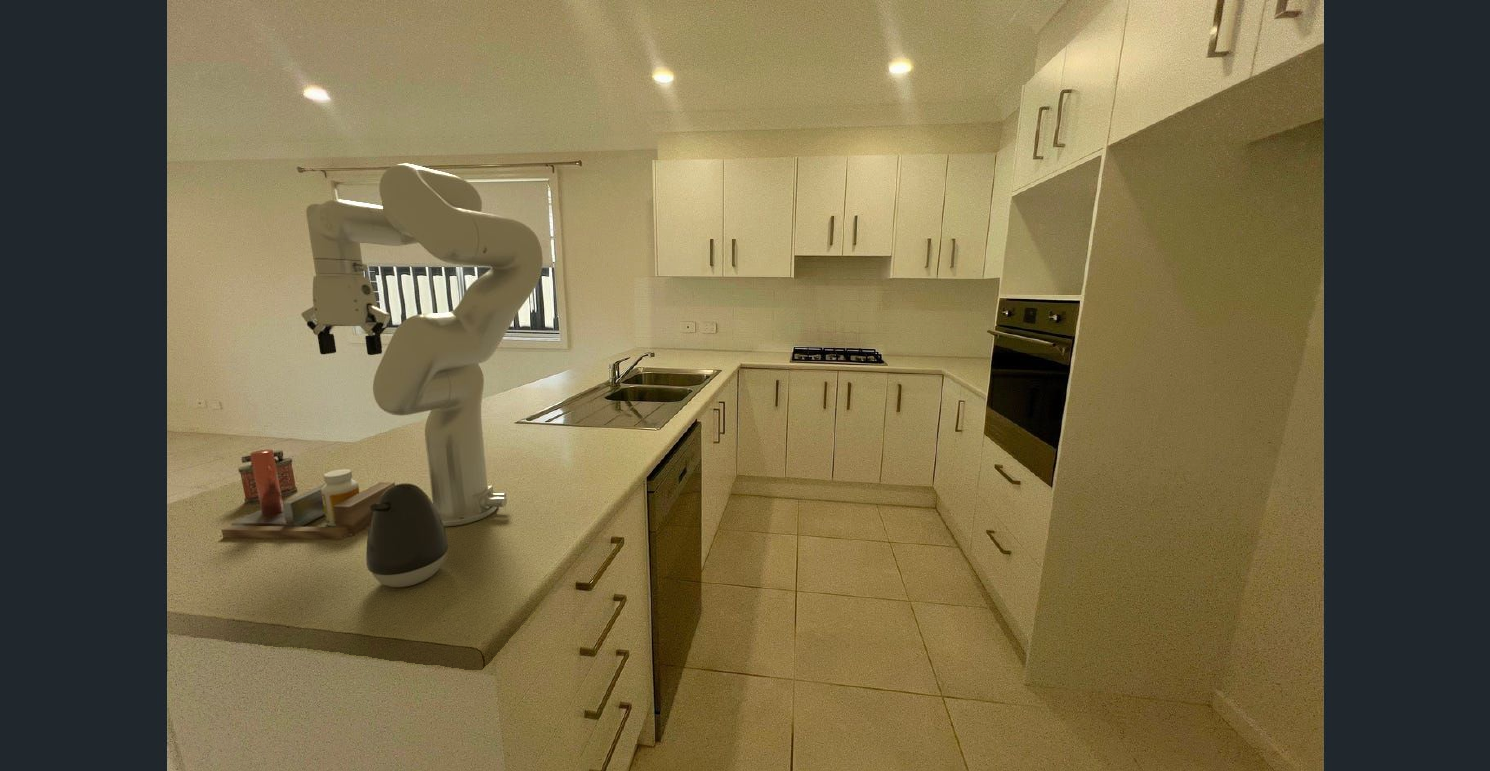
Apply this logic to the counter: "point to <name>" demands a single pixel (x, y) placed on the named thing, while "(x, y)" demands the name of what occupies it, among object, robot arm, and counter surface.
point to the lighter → (283, 474)
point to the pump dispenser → (405, 537)
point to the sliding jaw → (279, 498)
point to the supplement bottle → (337, 491)
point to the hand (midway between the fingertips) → (351, 353)
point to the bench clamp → (348, 522)
